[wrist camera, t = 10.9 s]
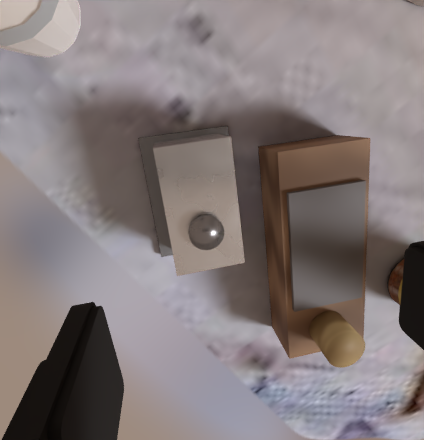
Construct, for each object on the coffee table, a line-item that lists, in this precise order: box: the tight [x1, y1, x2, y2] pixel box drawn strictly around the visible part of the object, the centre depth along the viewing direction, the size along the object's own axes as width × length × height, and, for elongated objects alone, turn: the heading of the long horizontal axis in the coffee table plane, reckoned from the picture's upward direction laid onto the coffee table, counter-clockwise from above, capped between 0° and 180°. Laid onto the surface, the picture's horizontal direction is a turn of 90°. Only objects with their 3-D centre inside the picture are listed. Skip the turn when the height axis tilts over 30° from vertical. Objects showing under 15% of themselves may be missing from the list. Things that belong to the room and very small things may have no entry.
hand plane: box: [258, 135, 370, 367], centre depth 26 cm, size 18×7×8 cm, turn 7°
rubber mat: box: [138, 126, 229, 257], centre depth 26 cm, size 10×7×1 cm
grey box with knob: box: [153, 134, 245, 276], centre depth 23 cm, size 9×5×6 cm, turn 8°
